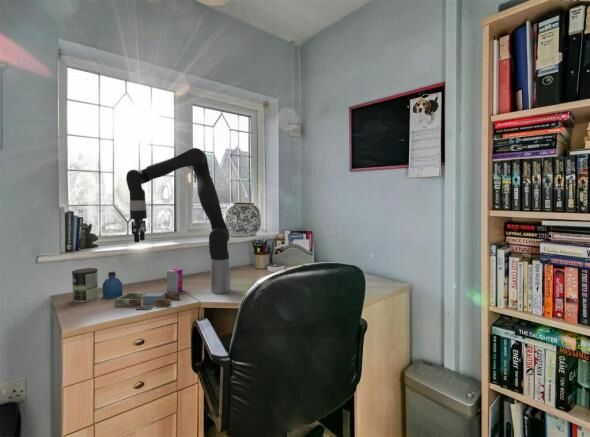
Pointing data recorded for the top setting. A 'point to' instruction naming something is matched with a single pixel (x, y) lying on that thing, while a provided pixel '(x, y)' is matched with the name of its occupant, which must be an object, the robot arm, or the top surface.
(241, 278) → the top surface
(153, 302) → the slate block
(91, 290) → the coffee can
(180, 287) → the supplement box
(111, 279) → the perfume bottle
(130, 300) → the channel
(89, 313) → the top surface
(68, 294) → the top surface
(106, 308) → the top surface
